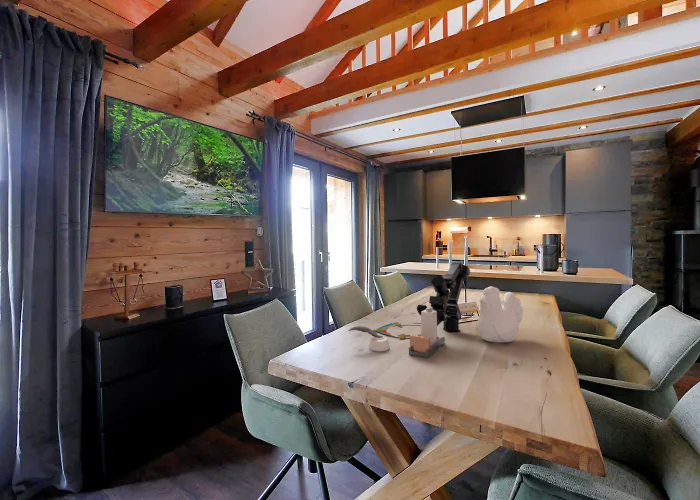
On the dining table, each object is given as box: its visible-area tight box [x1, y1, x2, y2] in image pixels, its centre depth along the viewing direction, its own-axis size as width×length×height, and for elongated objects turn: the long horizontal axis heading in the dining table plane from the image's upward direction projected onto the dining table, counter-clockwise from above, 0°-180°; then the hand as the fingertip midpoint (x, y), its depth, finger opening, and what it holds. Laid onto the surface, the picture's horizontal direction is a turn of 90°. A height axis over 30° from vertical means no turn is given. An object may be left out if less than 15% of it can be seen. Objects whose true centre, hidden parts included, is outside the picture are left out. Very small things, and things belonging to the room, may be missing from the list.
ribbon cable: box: [372, 321, 440, 340], centre depth 166 cm, size 29×1×30 cm
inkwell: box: [347, 325, 390, 352], centre depth 140 cm, size 9×18×10 cm, turn 100°
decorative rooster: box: [476, 286, 524, 343], centre depth 146 cm, size 25×16×25 cm, turn 103°
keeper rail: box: [408, 334, 446, 359], centre depth 138 cm, size 20×8×8 cm, turn 145°
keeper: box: [420, 307, 438, 346], centre depth 139 cm, size 5×5×15 cm
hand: (433, 328), depth 143 cm, fingers closed
